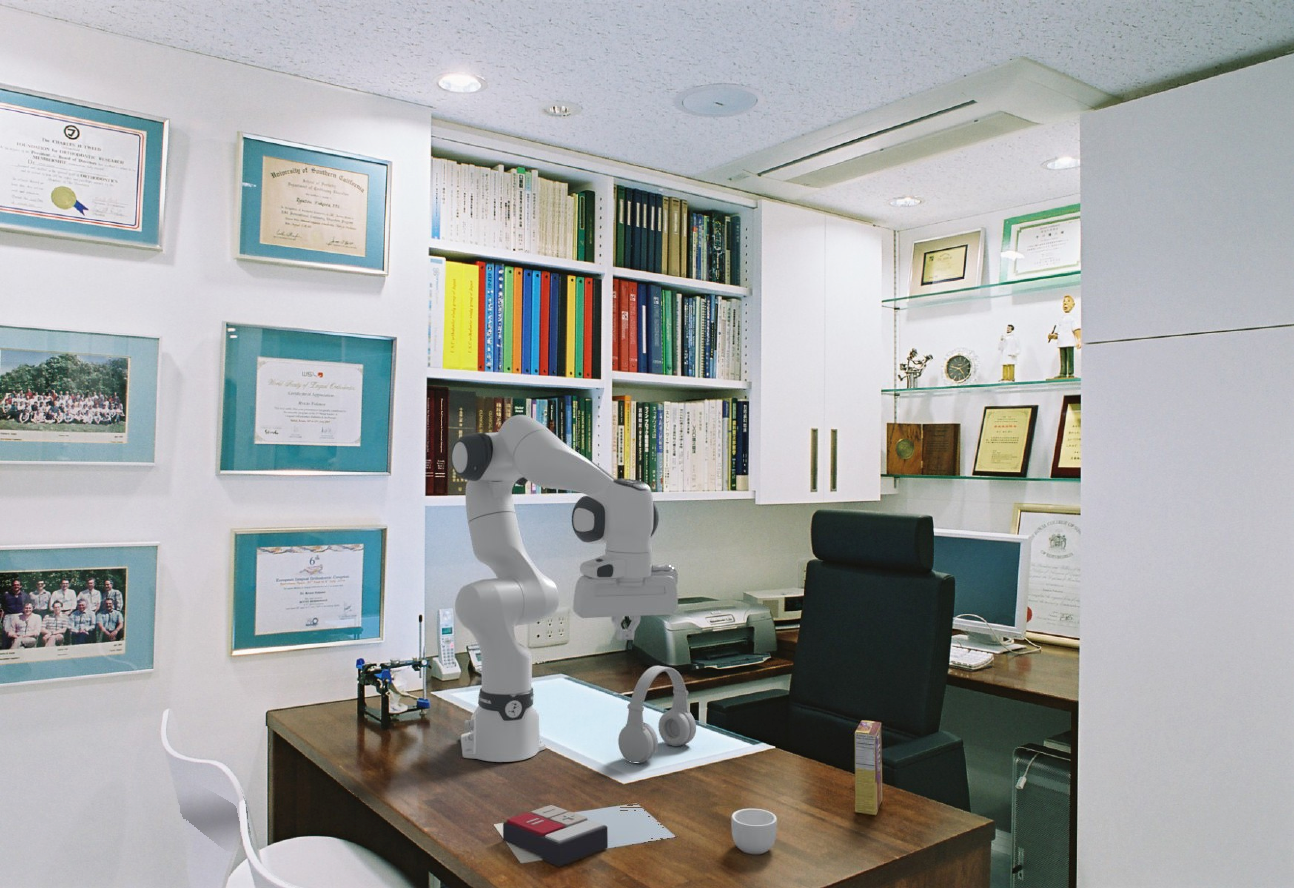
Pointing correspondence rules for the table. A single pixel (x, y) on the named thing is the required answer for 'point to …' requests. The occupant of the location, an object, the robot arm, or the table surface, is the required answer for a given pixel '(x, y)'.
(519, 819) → the calculator
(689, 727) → the headphones
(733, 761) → the table surface
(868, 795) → the candy box
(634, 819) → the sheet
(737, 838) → the teacup
